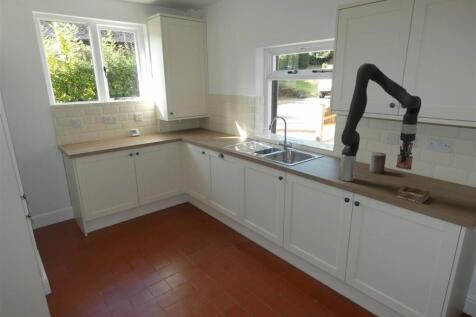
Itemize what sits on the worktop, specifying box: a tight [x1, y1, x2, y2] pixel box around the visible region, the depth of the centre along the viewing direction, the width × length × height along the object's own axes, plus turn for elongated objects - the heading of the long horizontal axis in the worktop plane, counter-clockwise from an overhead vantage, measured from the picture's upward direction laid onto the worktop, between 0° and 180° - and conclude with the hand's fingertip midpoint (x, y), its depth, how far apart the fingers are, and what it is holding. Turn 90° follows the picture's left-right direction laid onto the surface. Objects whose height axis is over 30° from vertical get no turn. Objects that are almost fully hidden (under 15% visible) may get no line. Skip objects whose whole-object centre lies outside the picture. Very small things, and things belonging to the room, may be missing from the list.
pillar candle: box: [369, 151, 387, 175], centre depth 209 cm, size 10×10×15 cm
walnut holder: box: [396, 185, 431, 204], centre depth 166 cm, size 13×13×4 cm
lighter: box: [395, 151, 414, 171], centre depth 166 cm, size 8×3×10 cm, turn 44°
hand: (404, 161), depth 166 cm, fingers closed on lighter, 3 cm apart
